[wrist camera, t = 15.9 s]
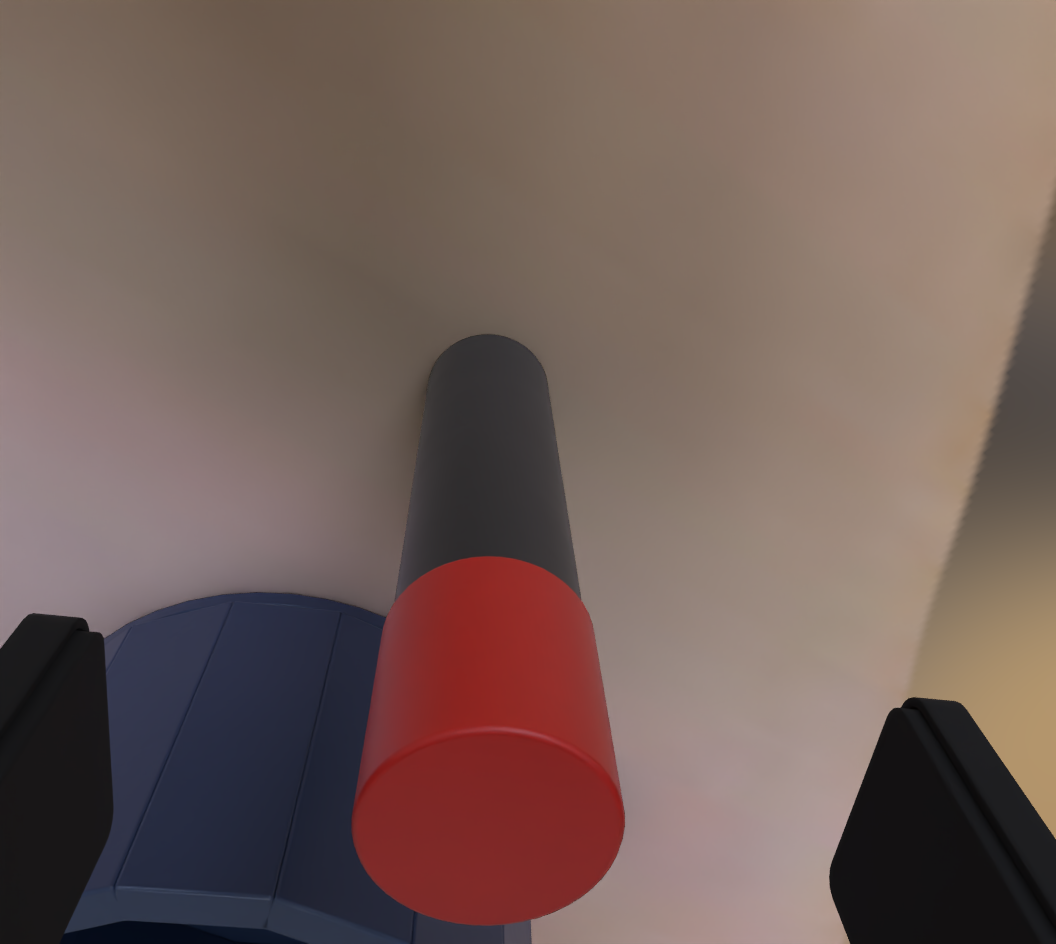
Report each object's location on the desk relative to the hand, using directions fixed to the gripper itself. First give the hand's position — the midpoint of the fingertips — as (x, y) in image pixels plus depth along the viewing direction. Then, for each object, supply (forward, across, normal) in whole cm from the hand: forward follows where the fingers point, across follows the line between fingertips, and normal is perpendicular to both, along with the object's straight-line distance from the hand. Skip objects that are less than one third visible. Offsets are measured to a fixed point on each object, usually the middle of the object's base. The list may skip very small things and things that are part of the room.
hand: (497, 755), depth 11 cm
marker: (+11, 0, -1) cm, 11 cm away
